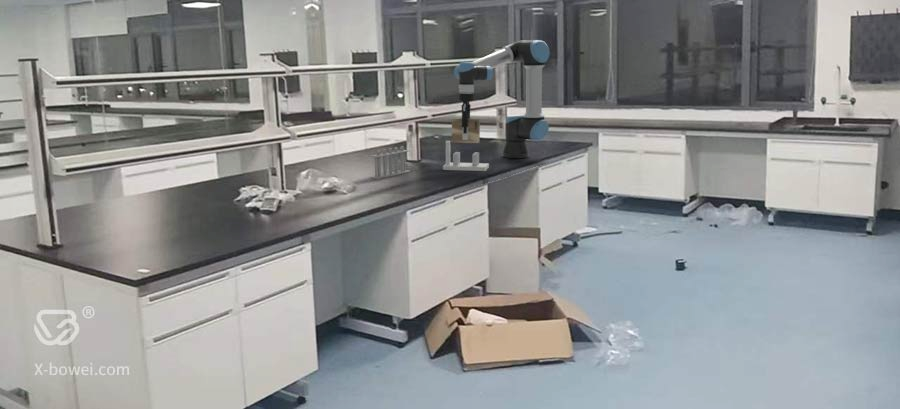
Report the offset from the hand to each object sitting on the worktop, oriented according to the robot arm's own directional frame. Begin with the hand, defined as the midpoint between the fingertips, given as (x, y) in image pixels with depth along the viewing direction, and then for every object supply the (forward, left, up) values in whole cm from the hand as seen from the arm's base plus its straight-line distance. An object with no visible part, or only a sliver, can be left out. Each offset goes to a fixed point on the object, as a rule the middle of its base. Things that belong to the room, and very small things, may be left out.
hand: (465, 139), depth 387 cm
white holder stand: (0, 0, -15) cm, 15 cm away
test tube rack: (+25, -33, -16) cm, 44 cm away
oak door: (0, 0, -2) cm, 2 cm away
